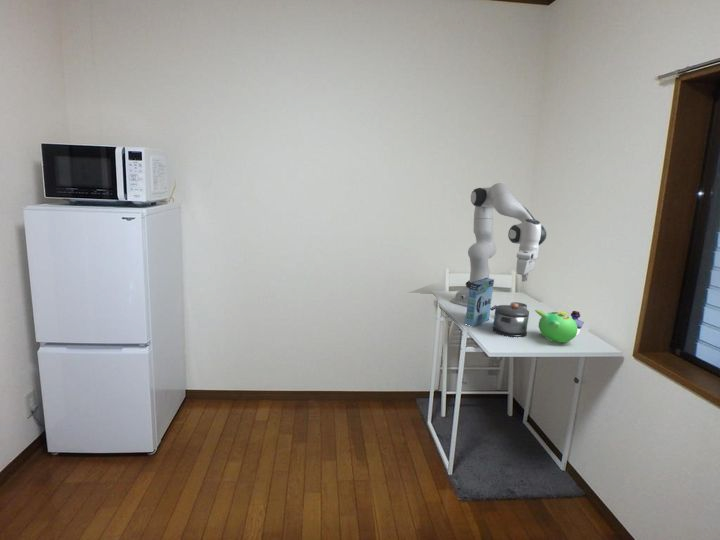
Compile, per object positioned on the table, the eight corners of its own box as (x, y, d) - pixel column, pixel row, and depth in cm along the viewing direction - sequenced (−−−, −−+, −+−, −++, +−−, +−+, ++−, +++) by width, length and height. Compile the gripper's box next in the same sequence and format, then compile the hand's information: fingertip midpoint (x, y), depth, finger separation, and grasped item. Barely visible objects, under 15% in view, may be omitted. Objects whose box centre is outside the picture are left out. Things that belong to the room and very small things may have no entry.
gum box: (481, 317, 245) (485, 277, 240) (489, 320, 242) (494, 279, 237) (464, 325, 230) (469, 282, 226) (473, 327, 227) (478, 284, 223)
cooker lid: (486, 312, 221) (487, 304, 220) (497, 306, 234) (497, 298, 233) (523, 320, 211) (524, 312, 210) (532, 313, 224) (533, 305, 223)
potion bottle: (559, 332, 228) (563, 309, 225) (570, 330, 232) (573, 308, 230) (574, 337, 221) (578, 314, 218) (585, 335, 225) (589, 313, 222)
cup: (508, 322, 238) (510, 305, 236) (508, 318, 246) (510, 301, 244) (524, 325, 236) (527, 307, 234) (524, 321, 243) (527, 303, 241)
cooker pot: (486, 333, 220) (488, 313, 218) (499, 323, 237) (501, 305, 235) (520, 341, 210) (523, 321, 208) (531, 330, 228) (534, 312, 226)
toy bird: (582, 346, 208) (587, 316, 206) (553, 348, 204) (557, 318, 201) (556, 333, 225) (560, 305, 222) (528, 335, 220) (532, 306, 218)
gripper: (527, 250, 224) (523, 276, 226) (515, 254, 207) (511, 283, 210) (540, 252, 220) (536, 279, 223) (529, 256, 204) (525, 285, 206)
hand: (524, 281), depth 216 cm, fingers closed
